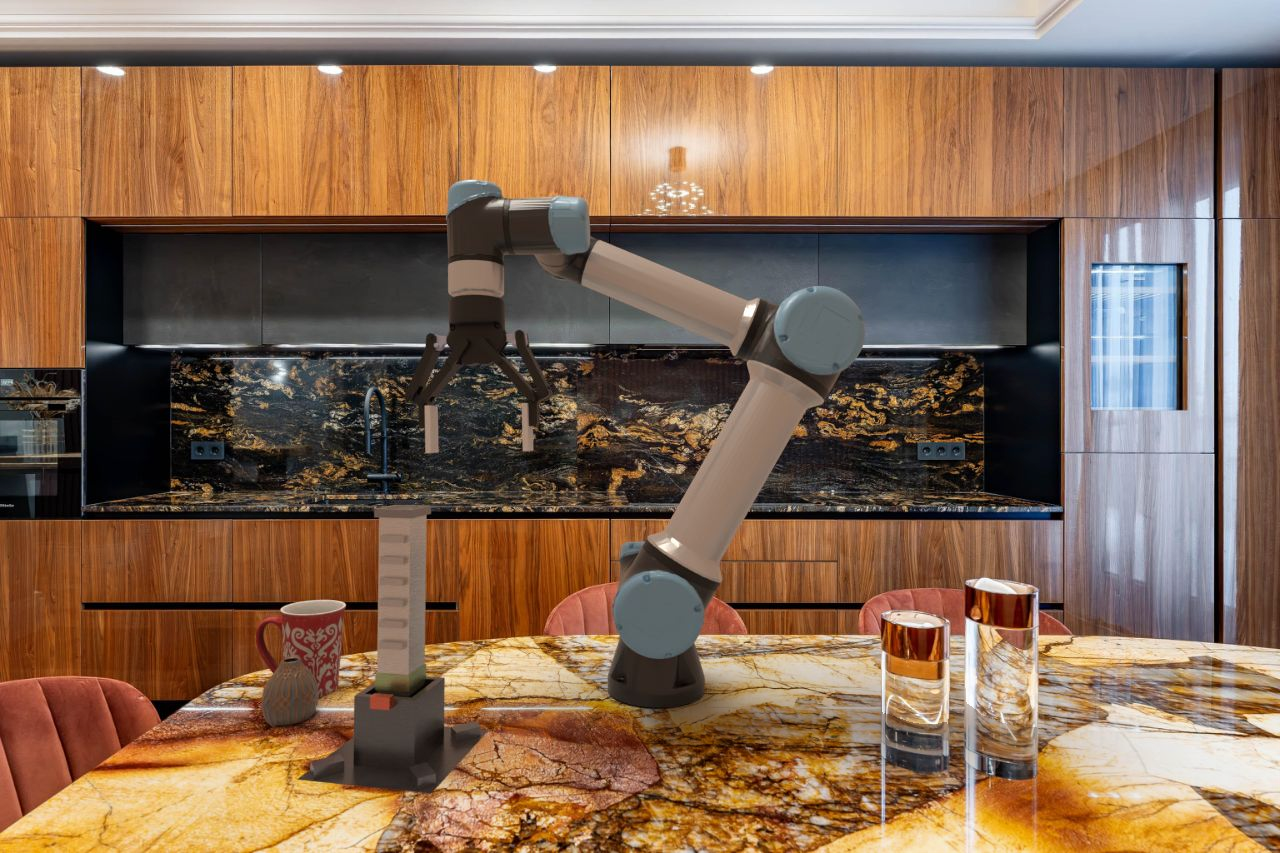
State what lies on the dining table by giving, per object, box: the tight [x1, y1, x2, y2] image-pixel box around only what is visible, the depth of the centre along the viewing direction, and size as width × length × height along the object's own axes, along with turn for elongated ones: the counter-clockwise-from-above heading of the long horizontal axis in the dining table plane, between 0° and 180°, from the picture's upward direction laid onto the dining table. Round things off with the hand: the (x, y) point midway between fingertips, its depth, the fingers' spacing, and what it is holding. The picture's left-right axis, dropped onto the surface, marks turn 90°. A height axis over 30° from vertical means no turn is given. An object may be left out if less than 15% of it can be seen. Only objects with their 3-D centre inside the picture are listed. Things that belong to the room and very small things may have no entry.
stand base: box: [297, 675, 489, 794], centre depth 84 cm, size 16×16×10 cm
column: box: [373, 504, 432, 697], centre depth 84 cm, size 5×5×22 cm
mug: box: [255, 599, 347, 701], centre depth 104 cm, size 13×9×14 cm
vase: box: [261, 657, 319, 728], centre depth 94 cm, size 7×7×9 cm
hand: (479, 452), depth 95 cm, fingers open, 13 cm apart
